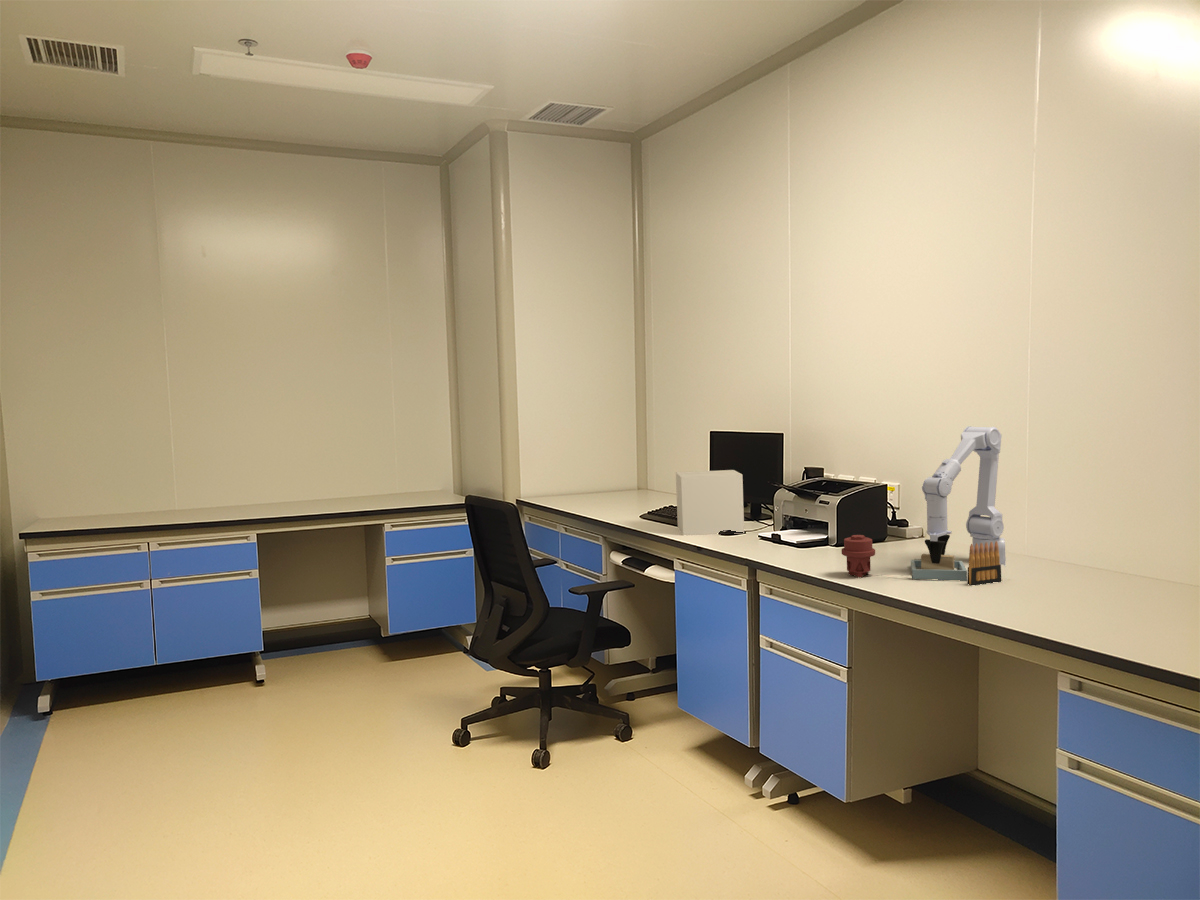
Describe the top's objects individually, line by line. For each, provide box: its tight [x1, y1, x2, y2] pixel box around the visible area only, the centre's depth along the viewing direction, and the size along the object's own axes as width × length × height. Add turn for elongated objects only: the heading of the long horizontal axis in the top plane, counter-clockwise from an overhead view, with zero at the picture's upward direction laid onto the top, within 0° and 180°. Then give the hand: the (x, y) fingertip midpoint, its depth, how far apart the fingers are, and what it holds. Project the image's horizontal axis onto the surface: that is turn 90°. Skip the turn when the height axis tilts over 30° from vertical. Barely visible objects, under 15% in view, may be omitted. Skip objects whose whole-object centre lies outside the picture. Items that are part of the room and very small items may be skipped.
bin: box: [910, 559, 968, 582], centre depth 261 cm, size 15×15×3 cm
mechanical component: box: [840, 534, 876, 578], centre depth 265 cm, size 12×10×10 cm
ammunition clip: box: [966, 541, 1002, 586], centre depth 248 cm, size 11×2×12 cm, turn 108°
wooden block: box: [920, 553, 955, 570], centre depth 261 cm, size 3×9×6 cm, turn 60°
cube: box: [675, 469, 745, 536], centre depth 361 cm, size 25×21×24 cm
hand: (937, 560), depth 261 cm, fingers open, 7 cm apart
